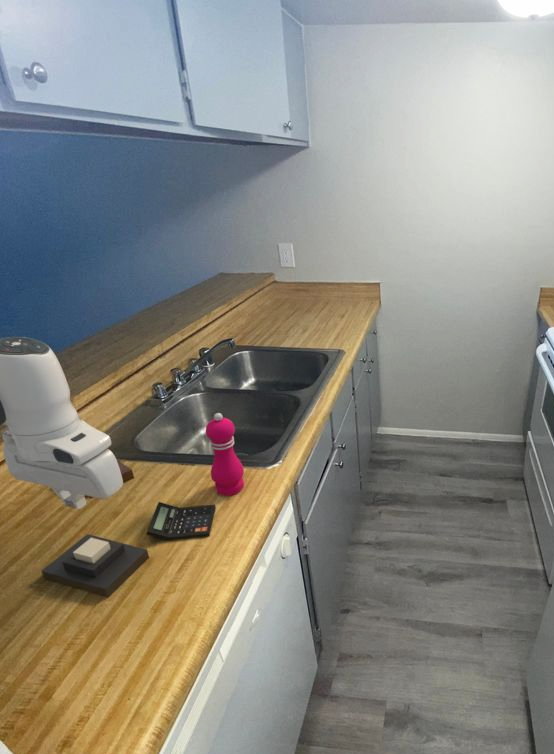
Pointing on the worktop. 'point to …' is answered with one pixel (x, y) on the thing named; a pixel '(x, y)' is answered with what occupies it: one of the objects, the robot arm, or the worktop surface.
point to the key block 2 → (96, 568)
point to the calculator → (181, 522)
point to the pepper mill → (224, 457)
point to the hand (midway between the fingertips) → (76, 505)
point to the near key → (91, 550)
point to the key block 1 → (124, 473)
